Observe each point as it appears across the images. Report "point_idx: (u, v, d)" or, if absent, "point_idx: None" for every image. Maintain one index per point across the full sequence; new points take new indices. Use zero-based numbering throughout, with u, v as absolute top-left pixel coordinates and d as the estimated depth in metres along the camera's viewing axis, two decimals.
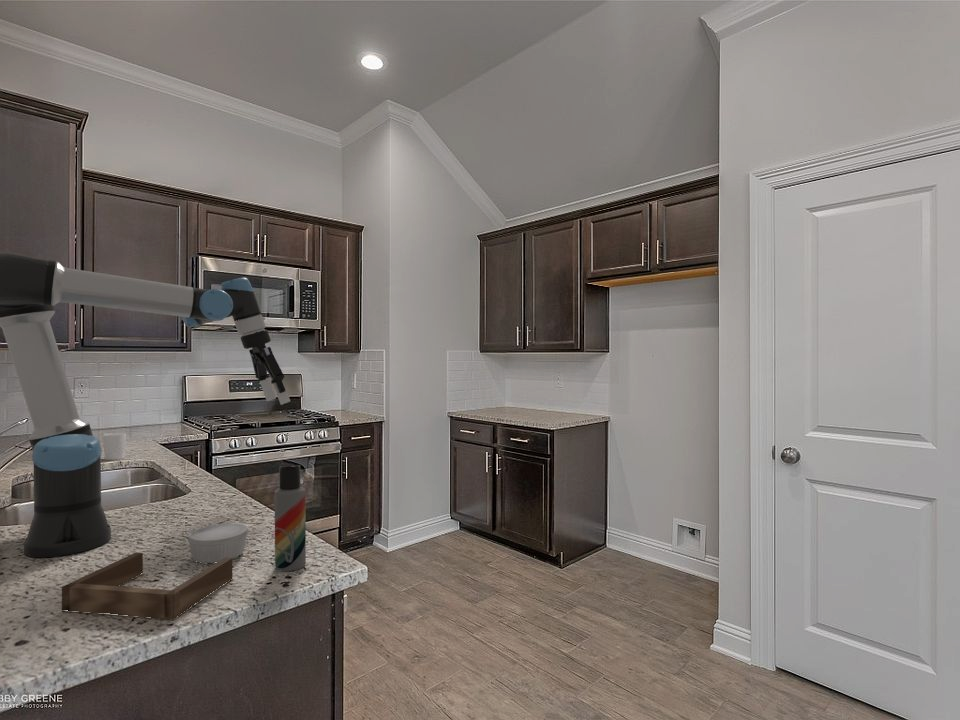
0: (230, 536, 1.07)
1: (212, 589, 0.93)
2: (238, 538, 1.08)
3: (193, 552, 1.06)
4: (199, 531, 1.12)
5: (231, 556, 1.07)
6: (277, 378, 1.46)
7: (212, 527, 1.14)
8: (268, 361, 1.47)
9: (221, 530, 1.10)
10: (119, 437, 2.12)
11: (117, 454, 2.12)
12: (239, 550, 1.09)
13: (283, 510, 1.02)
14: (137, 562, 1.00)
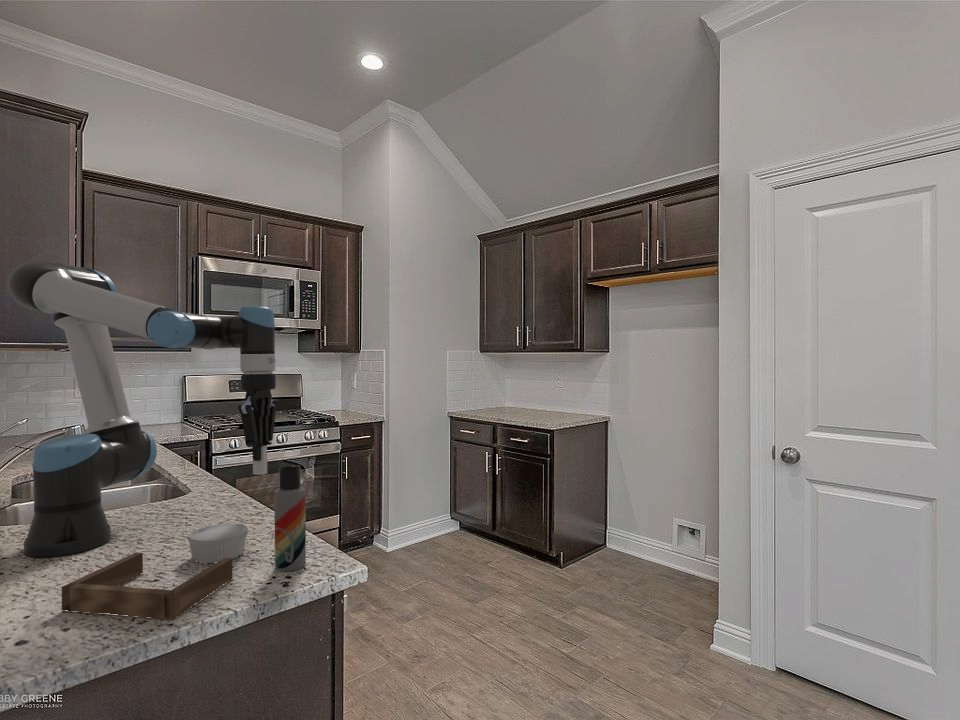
0: (230, 536, 1.07)
1: (212, 589, 0.93)
2: (238, 538, 1.08)
3: (193, 552, 1.06)
4: (199, 531, 1.12)
5: (231, 556, 1.07)
6: (247, 443, 1.21)
7: (212, 527, 1.14)
8: (243, 422, 1.20)
9: (221, 530, 1.10)
10: None
11: None
12: (239, 550, 1.09)
13: (283, 510, 1.02)
14: (137, 562, 1.00)
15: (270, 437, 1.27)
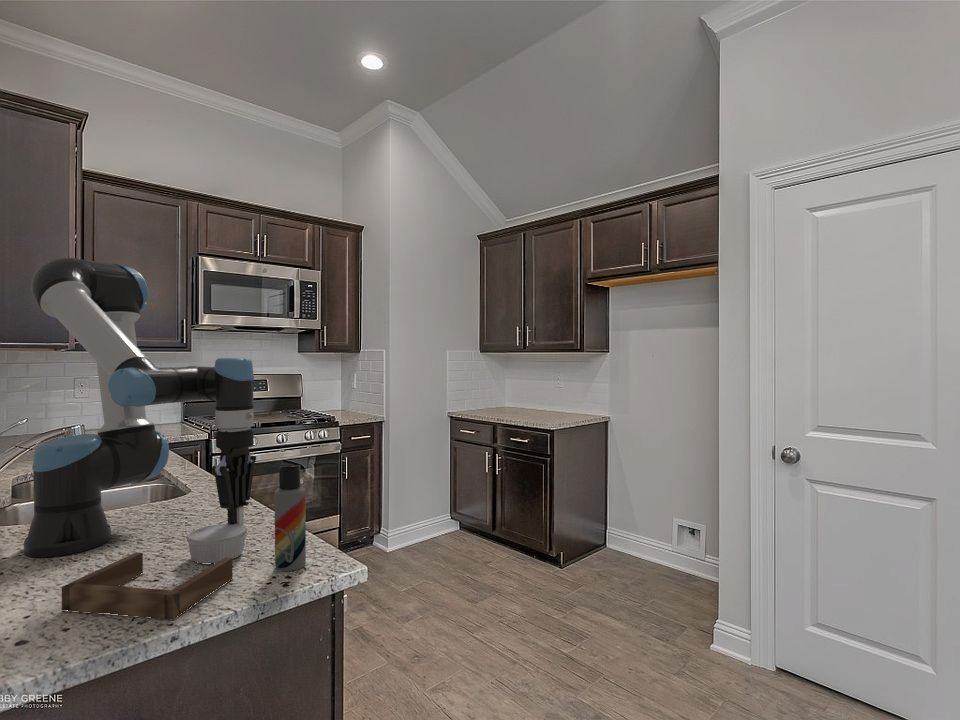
0: (229, 536, 1.06)
1: (212, 589, 0.93)
2: (237, 538, 1.08)
3: (192, 552, 1.06)
4: (198, 531, 1.11)
5: (230, 556, 1.07)
6: (222, 506, 1.12)
7: (211, 527, 1.13)
8: (218, 484, 1.11)
9: (220, 531, 1.10)
10: None
11: None
12: (238, 550, 1.09)
13: (283, 510, 1.02)
14: (137, 562, 1.00)
15: (247, 496, 1.19)
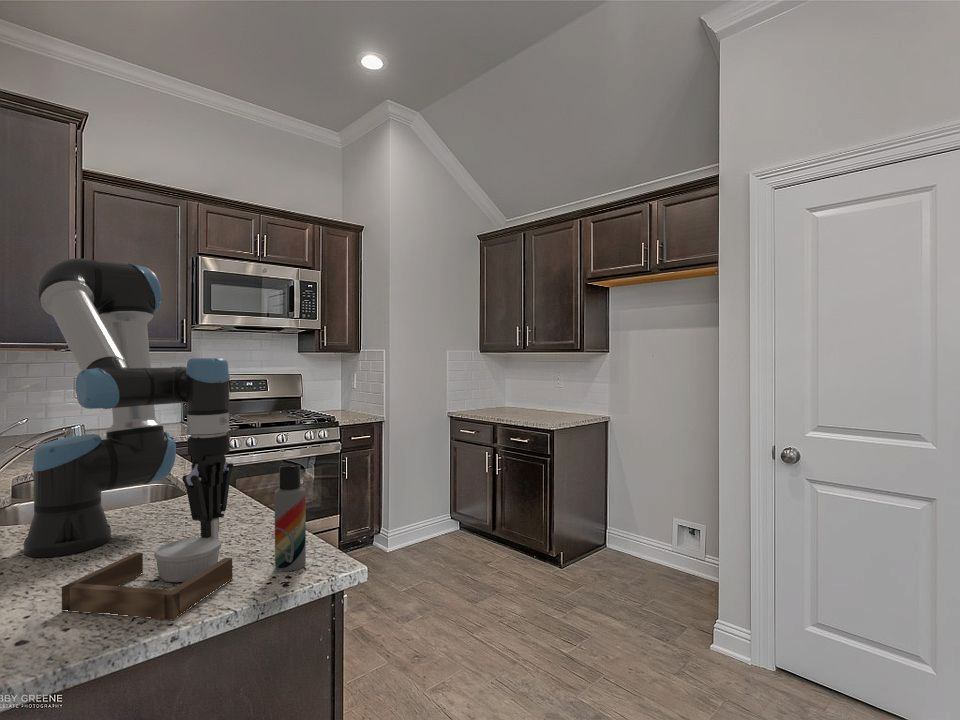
0: (200, 552, 0.98)
1: (212, 589, 0.93)
2: (209, 553, 0.99)
3: (160, 569, 0.97)
4: (168, 546, 1.03)
5: None
6: (194, 518, 1.04)
7: (183, 541, 1.05)
8: (189, 494, 1.03)
9: (192, 545, 1.01)
10: None
11: None
12: None
13: (283, 510, 1.02)
14: (137, 562, 1.00)
15: (223, 507, 1.10)
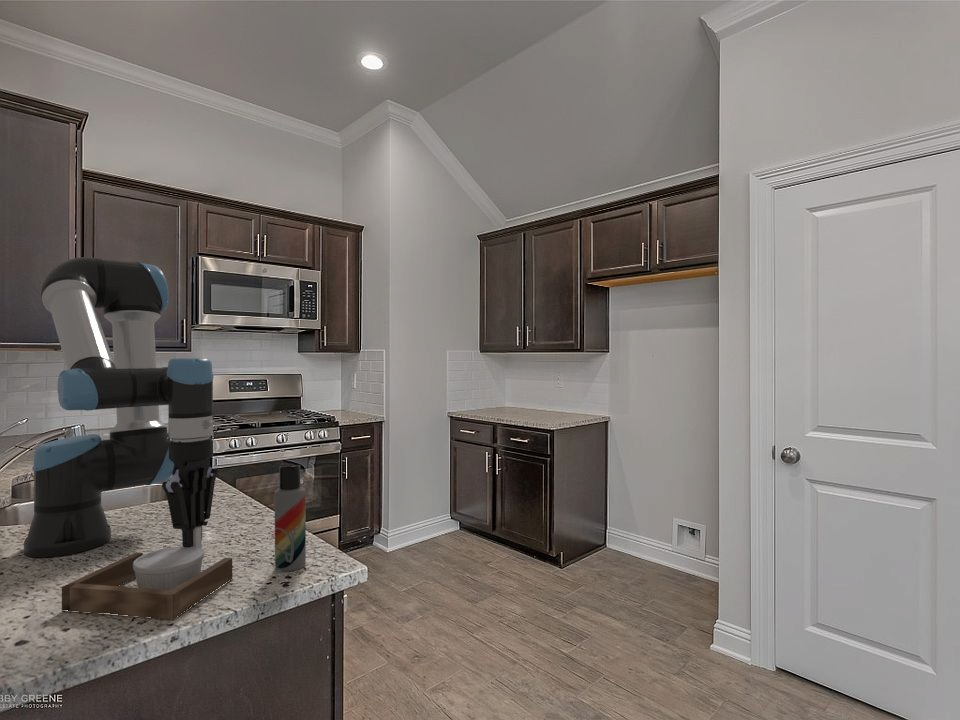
0: (181, 563, 0.93)
1: (212, 589, 0.93)
2: (191, 564, 0.94)
3: (138, 582, 0.92)
4: (148, 556, 0.98)
5: None
6: (175, 526, 0.99)
7: (164, 551, 1.00)
8: (169, 501, 0.97)
9: (173, 556, 0.96)
10: None
11: None
12: None
13: (283, 510, 1.02)
14: None
15: (207, 515, 1.05)
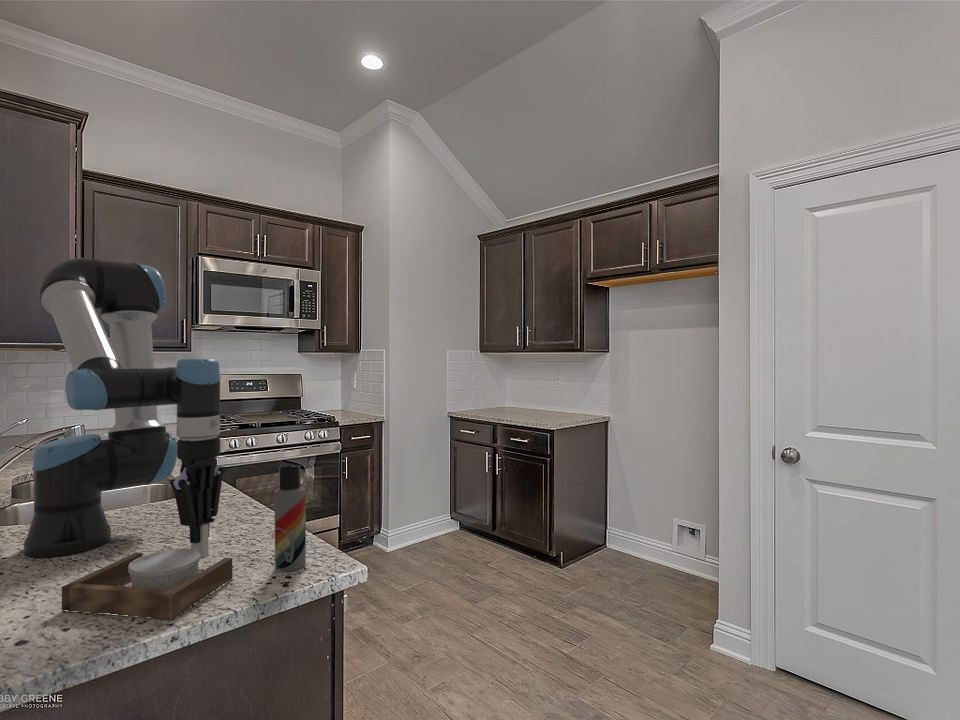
0: (177, 566, 0.92)
1: (212, 589, 0.93)
2: (187, 567, 0.93)
3: (133, 585, 0.91)
4: (144, 559, 0.97)
5: None
6: (183, 523, 1.01)
7: (160, 554, 0.99)
8: (177, 499, 1.00)
9: (169, 558, 0.95)
10: None
11: None
12: None
13: (283, 510, 1.02)
14: None
15: (214, 512, 1.07)
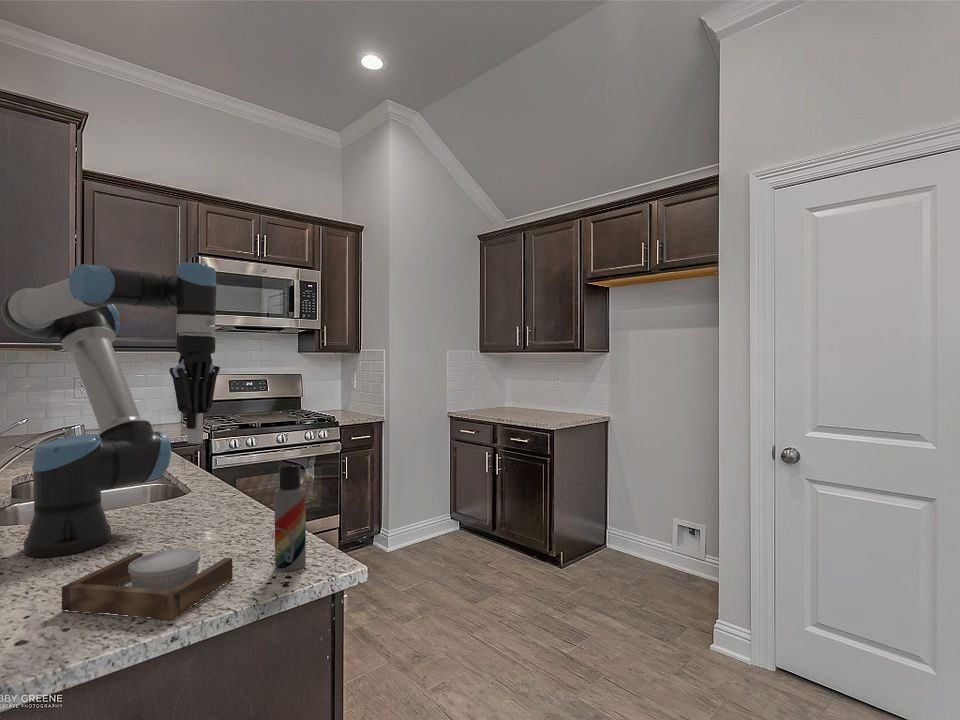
0: (177, 566, 0.92)
1: (212, 589, 0.93)
2: (187, 567, 0.93)
3: (133, 585, 0.91)
4: (143, 559, 0.97)
5: None
6: (180, 409, 1.13)
7: (160, 554, 0.99)
8: (175, 386, 1.12)
9: (169, 559, 0.95)
10: None
11: None
12: None
13: (283, 510, 1.02)
14: None
15: (208, 404, 1.19)
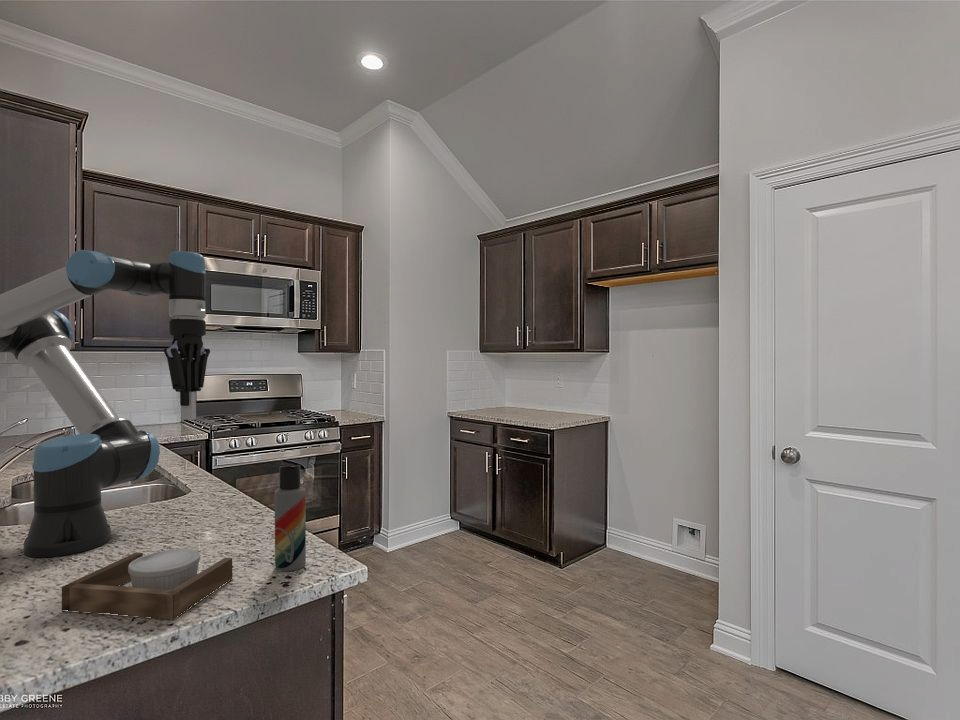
0: (177, 566, 0.92)
1: (212, 589, 0.93)
2: (187, 567, 0.93)
3: (133, 585, 0.91)
4: (143, 559, 0.97)
5: None
6: (174, 387, 1.22)
7: (160, 554, 0.99)
8: (170, 365, 1.20)
9: (169, 559, 0.95)
10: None
11: None
12: None
13: (283, 510, 1.02)
14: None
15: (200, 384, 1.28)
